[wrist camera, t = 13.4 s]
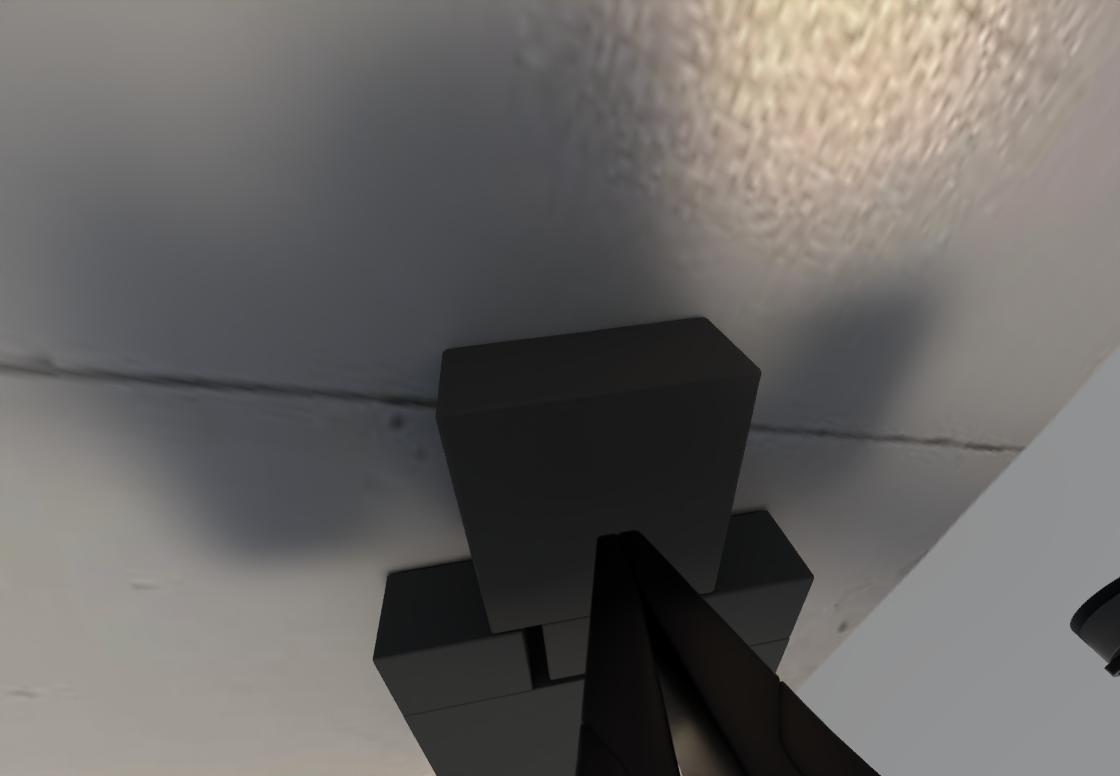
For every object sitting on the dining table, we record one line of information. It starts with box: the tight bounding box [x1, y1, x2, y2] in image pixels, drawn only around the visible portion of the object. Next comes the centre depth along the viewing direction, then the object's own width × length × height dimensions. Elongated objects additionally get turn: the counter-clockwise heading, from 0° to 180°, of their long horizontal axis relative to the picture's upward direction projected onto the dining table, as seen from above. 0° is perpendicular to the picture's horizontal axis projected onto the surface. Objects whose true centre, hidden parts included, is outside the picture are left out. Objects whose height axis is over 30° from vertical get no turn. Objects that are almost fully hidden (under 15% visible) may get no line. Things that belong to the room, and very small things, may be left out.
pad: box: [435, 317, 761, 680], centre depth 12 cm, size 6×10×2 cm, turn 3°
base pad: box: [373, 511, 814, 776], centre depth 16 cm, size 12×12×2 cm
